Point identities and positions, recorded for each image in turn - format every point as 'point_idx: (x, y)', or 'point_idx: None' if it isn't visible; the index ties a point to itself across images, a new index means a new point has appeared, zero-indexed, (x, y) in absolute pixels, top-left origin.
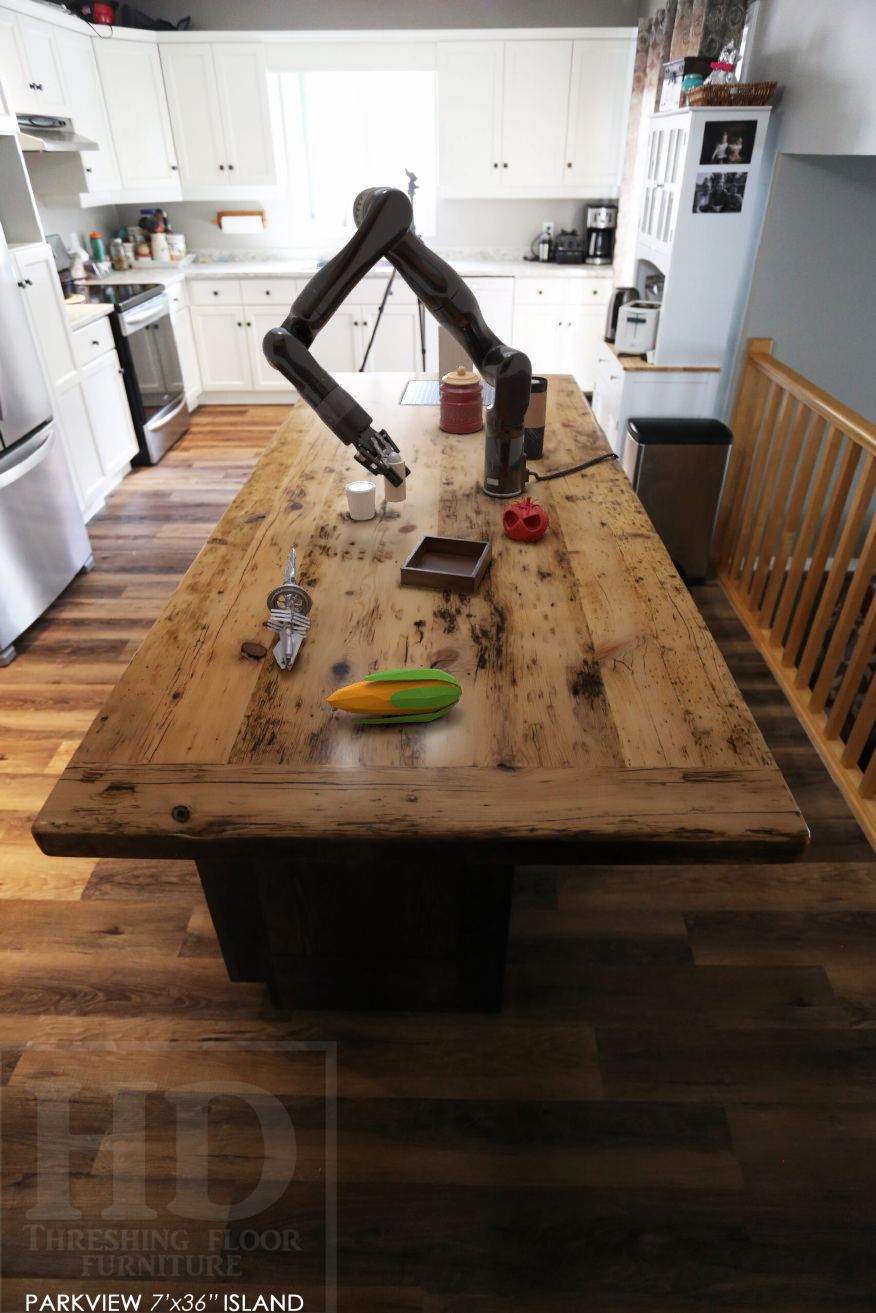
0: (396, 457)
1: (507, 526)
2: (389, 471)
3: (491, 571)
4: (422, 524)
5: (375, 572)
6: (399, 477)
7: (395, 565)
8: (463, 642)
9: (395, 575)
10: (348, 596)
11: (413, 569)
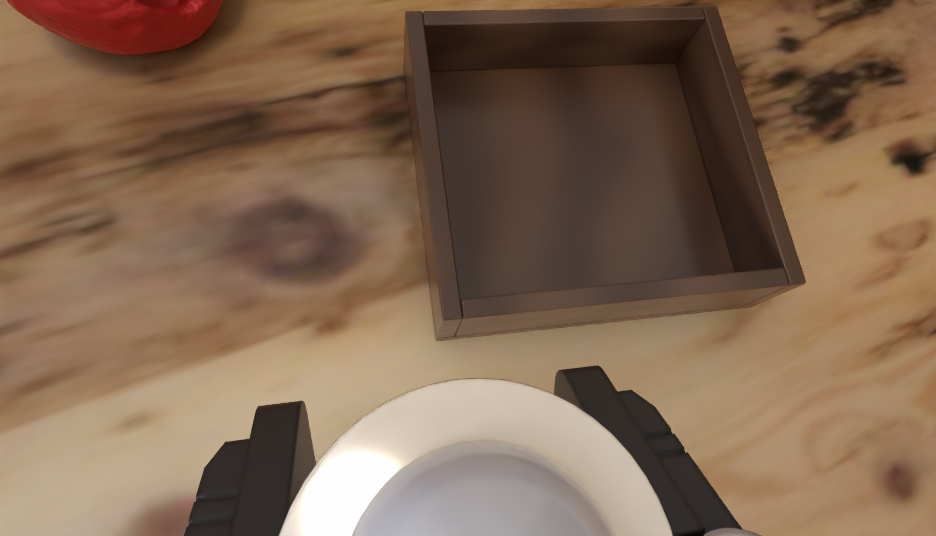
0: (573, 498)
1: (178, 10)
2: (714, 522)
3: None
4: (109, 485)
5: (703, 465)
6: (613, 394)
7: None
8: (912, 25)
9: (684, 368)
10: (921, 472)
11: (785, 226)
